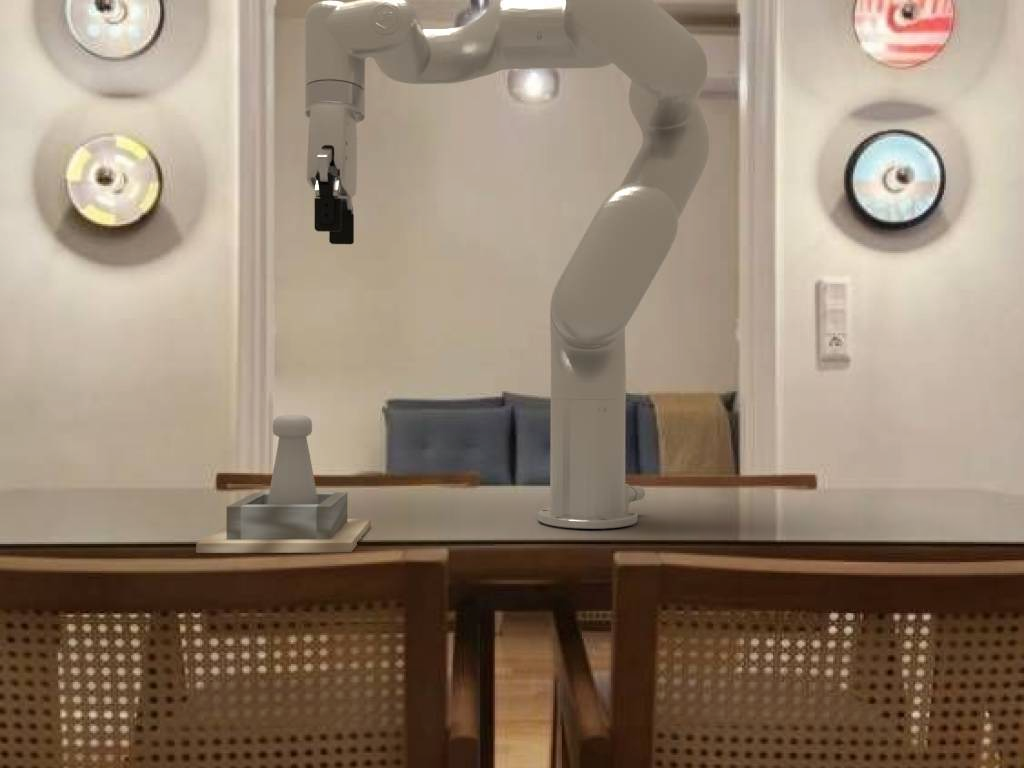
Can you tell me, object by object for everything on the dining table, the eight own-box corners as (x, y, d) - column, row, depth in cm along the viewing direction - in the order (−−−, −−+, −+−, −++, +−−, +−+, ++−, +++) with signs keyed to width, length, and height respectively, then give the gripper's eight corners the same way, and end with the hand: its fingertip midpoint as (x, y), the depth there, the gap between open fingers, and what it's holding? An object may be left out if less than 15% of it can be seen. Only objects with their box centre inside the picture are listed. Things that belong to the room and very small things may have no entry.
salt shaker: (326, 526, 97) (326, 414, 97) (308, 535, 92) (308, 416, 92) (277, 524, 98) (277, 413, 98) (257, 533, 92) (257, 416, 92)
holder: (370, 526, 103) (370, 490, 102) (351, 552, 88) (351, 509, 87) (238, 527, 102) (238, 490, 102) (196, 552, 87) (196, 509, 87)
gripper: (319, 124, 116) (319, 248, 116) (290, 80, 99) (290, 225, 99) (373, 125, 117) (373, 248, 117) (354, 81, 99) (353, 225, 99)
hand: (335, 237), depth 108 cm, fingers open, 9 cm apart
